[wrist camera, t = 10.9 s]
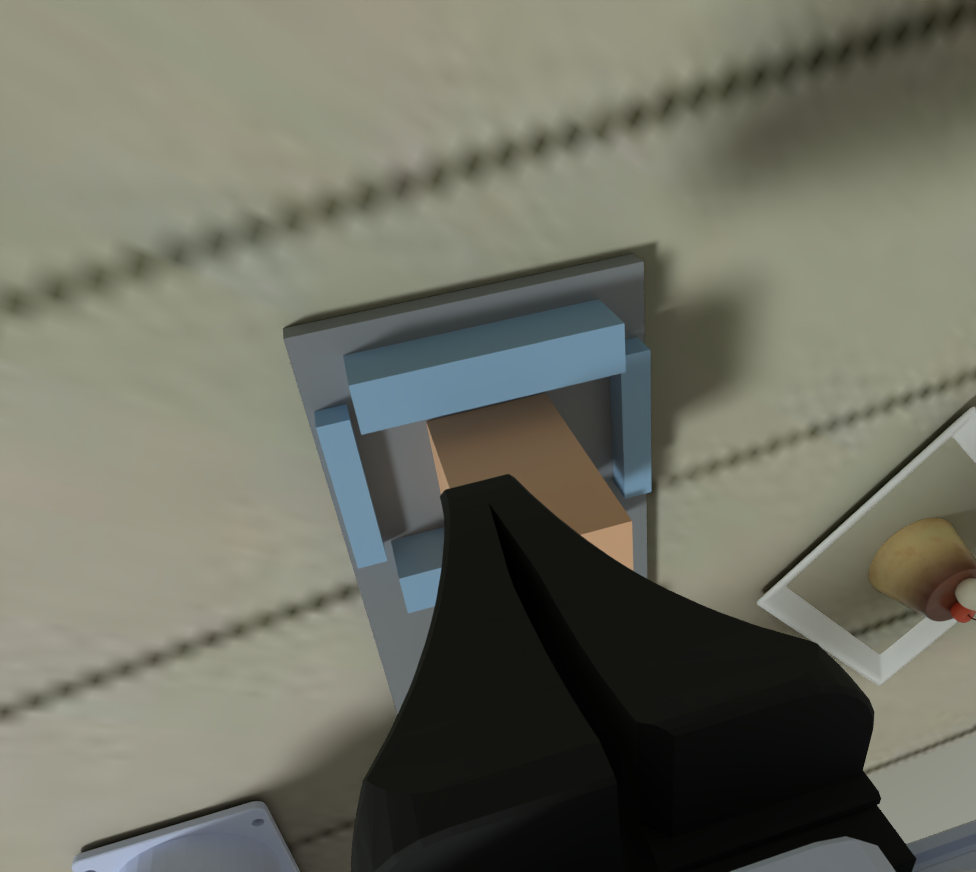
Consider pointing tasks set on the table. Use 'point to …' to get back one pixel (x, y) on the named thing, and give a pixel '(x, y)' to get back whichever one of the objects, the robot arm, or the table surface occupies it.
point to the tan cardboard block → (533, 466)
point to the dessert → (896, 579)
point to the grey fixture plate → (461, 388)
